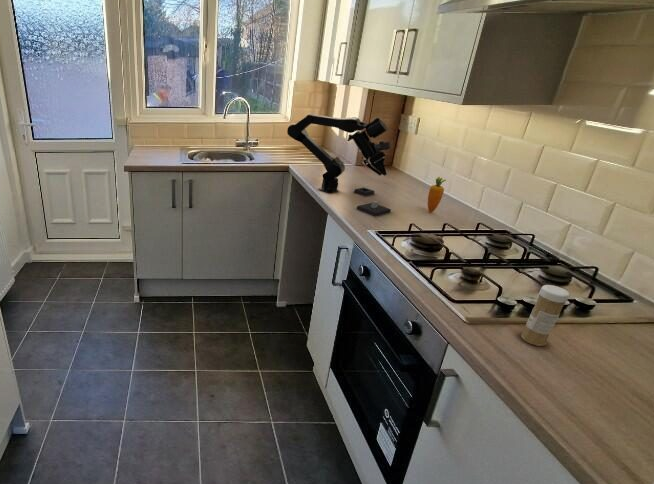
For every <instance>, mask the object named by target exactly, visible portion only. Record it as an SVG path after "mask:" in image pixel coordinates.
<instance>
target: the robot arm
mask: <svg viewBox="0 0 654 484" xmlns="http://www.w3.org/2000/svg"><path fill="white" fill-rule="evenodd" d="M310 125H317V126H322V127H323V126H324V127H331V128H336V129H339V130H341V131H342V132H346V133H349V134H348V138H347V139H346V140H347V142H350V141H353V142H354V144H355V146H356V147H357V149H358V153H360V154H361V155H362V157H363V158H362V160H361V163H362V164H363V165H364V166H365V167H366V168H367V169H369V170H371V171H372V172H374V173H375V174H377V175H378V176H379V177H380V176H382V175H383V176H384V177H385V176H387V175H388V173H387V170H386V167H385V159H386V153H385V152H384V151H387V150H391V149H392V147H391V141H386V142H384V140H382V141H378V142H377V143H375V142H373V141H372V140H371V138H373V139H376V138H377V137H378V138H379V136H381V135H383V134H384V133H386V132H388V127H387V125H386V123H385V122H383V120H382V119H381V118H380V117H379V116H378V117H376V118H375V119H374V120H373V121H371V122H369V123H367V122H363V121H361V119H360V118H359V117H334V116H333V117H332V116H327V115H320V114H315V113H310V114H307V115H306V116H305V117H303V118H302V119H301V120H299V121H298V122H295V123H293V124H290V125H289V126H288V127H287V131H286V132H287V135H288V137H290V138H291V139H293V140H295V141H297V142H299V143H301V144H302V145H303V146H304V147H305V148H306V149H307V150H308V151H309V152H310V153H311V154H312V155H314V157H316V158H317V160H319V161H320V163H322V164H323V167H324V168H325V170H326V171H325V172H324V173H323V174H322V181H321V182H322V183H321V187H320V188H318V191H320V192H321V191H322V192H325V193H327V194H333V193H339V191H340V190H339V189H338V187H339V178H338V177H339V176H341V175H342V174H343V173H344V172H345V171H346V170H345V169H346V166H345V163H344V161H343V160H341V159H340V157H339V156H335V157H332V156H331V155H330V154H329V153H328V152H326V150H325V149H324V148H323V147H321V146H320V145H319V144H318V142H316V141H315V140H314V139H313V138H312V137H311V136H310V135H309V134H308V131H307V128H308V127H309V126H310ZM352 133H353V134H352Z"/></svg>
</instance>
